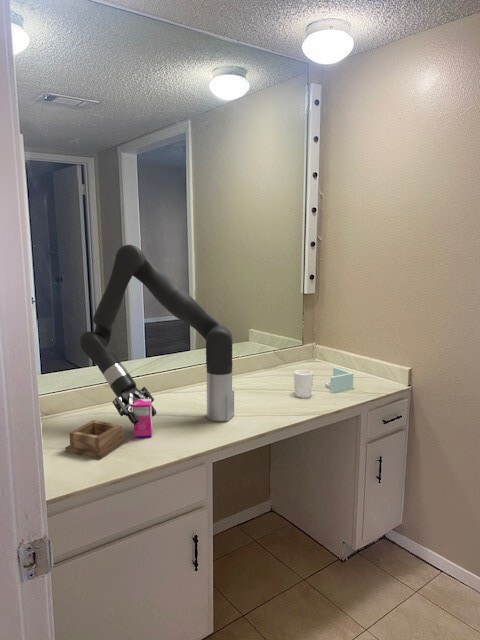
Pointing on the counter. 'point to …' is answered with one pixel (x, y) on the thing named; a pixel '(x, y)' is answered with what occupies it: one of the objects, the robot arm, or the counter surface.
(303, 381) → the white cup
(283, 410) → the counter surface
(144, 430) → the supplement box
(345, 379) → the right angle wall
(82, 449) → the post socket
